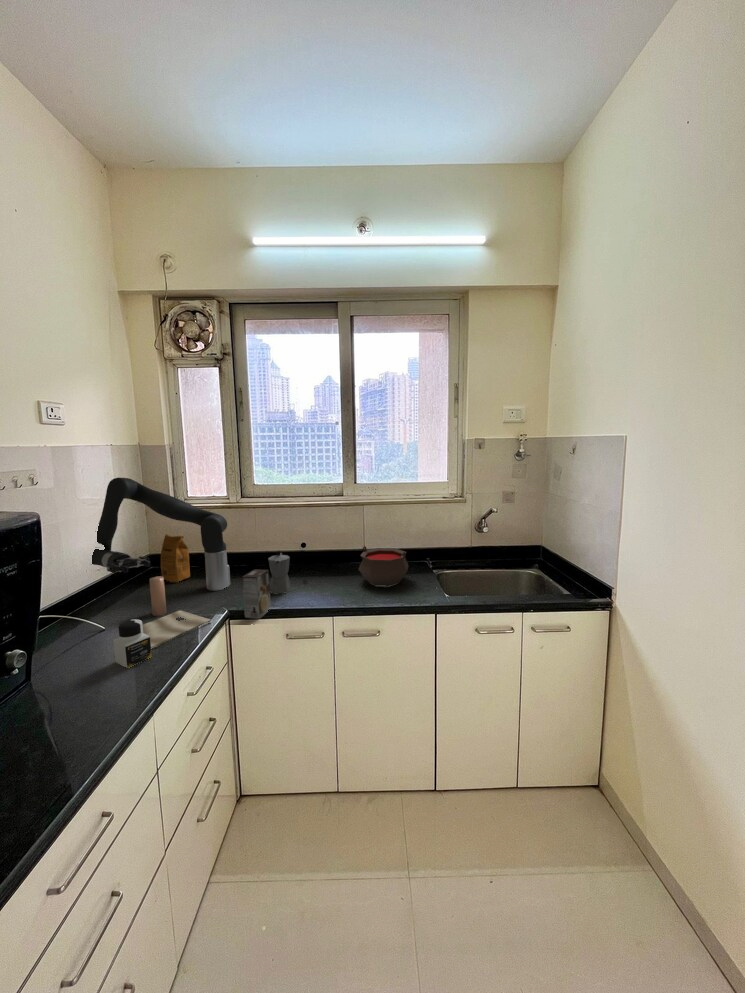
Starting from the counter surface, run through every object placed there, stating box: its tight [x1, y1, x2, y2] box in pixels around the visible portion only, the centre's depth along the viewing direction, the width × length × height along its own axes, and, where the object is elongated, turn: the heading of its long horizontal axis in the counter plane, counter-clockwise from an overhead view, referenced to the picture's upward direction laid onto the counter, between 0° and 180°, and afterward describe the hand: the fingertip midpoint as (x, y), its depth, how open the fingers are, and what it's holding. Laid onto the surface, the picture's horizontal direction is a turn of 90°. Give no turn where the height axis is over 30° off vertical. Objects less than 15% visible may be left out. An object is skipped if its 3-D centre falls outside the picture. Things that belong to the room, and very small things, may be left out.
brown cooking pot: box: [358, 545, 409, 586], centre depth 181 cm, size 24×24×16 cm
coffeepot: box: [267, 550, 292, 594], centre depth 173 cm, size 15×9×18 cm, turn 8°
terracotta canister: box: [149, 575, 168, 617], centre depth 150 cm, size 5×5×14 cm
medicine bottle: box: [113, 618, 153, 669], centre depth 117 cm, size 7×7×12 cm
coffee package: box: [160, 534, 191, 583], centre depth 190 cm, size 10×12×22 cm
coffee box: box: [242, 568, 272, 620], centre depth 149 cm, size 9×6×16 cm
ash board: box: [142, 610, 211, 649], centre depth 137 cm, size 22×18×1 cm
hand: (138, 566), depth 155 cm, fingers open, 8 cm apart
